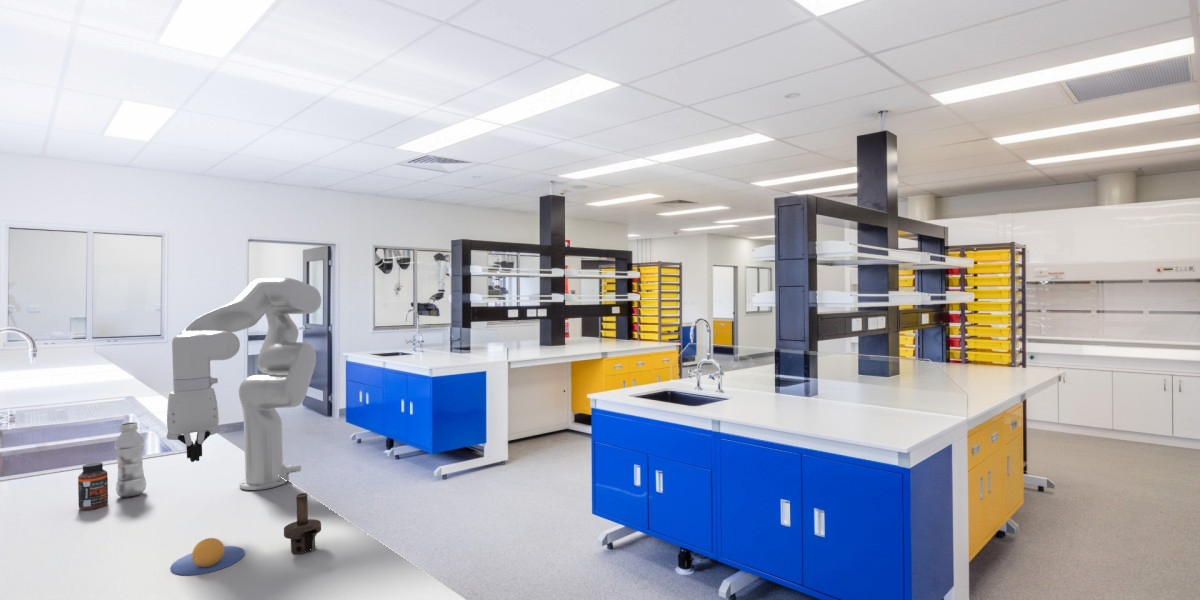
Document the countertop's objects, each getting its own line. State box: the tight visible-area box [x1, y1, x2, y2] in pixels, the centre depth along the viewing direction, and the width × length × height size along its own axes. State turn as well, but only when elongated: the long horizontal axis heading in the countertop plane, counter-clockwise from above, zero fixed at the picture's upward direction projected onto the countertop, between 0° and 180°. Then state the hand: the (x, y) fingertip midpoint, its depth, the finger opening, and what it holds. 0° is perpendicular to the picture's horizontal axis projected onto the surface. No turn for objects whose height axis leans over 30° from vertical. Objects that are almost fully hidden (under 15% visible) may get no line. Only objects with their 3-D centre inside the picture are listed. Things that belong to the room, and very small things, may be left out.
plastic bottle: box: [114, 421, 147, 498], centre depth 166 cm, size 6×7×20 cm
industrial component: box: [283, 492, 322, 554], centre depth 131 cm, size 9×7×12 cm
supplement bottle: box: [77, 461, 109, 511], centre depth 158 cm, size 6×6×11 cm
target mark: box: [169, 545, 246, 576], centre depth 126 cm, size 13×13×1 cm
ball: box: [192, 537, 225, 567], centre depth 123 cm, size 6×6×6 cm
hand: (194, 460), depth 147 cm, fingers closed
